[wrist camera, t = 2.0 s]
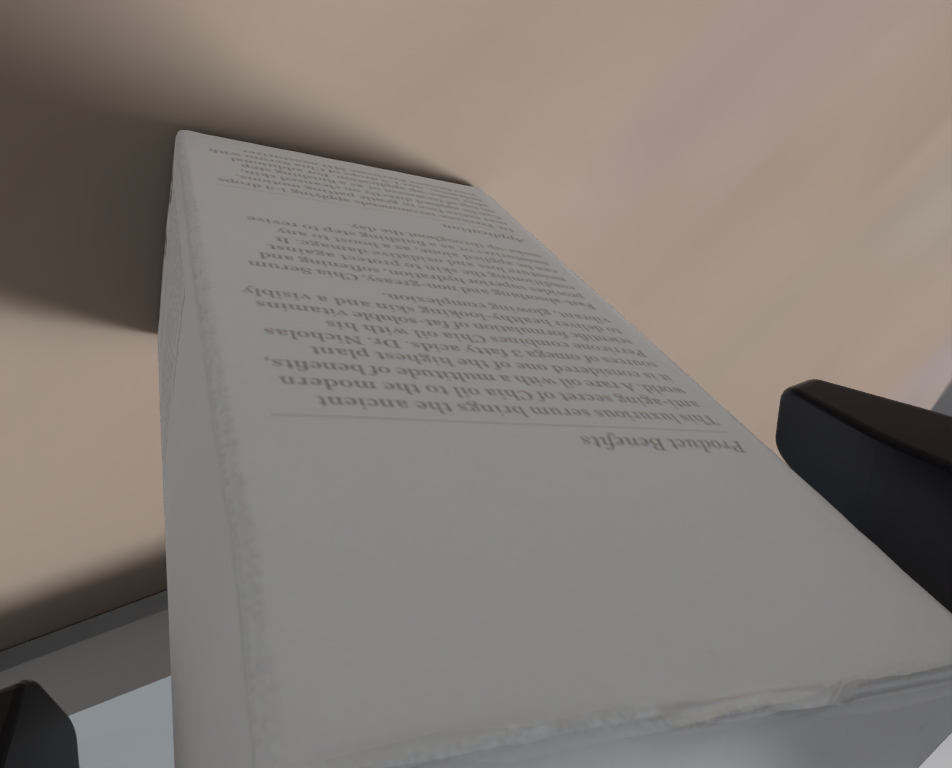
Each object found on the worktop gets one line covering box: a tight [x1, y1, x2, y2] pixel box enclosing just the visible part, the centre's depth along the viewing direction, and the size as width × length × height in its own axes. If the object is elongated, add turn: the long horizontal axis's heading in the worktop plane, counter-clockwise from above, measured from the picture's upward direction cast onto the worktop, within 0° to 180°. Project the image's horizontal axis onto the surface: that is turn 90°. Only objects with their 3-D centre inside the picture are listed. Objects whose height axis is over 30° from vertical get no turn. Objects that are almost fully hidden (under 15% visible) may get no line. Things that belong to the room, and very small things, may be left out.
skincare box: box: [158, 130, 952, 768], centre depth 10 cm, size 6×4×12 cm
